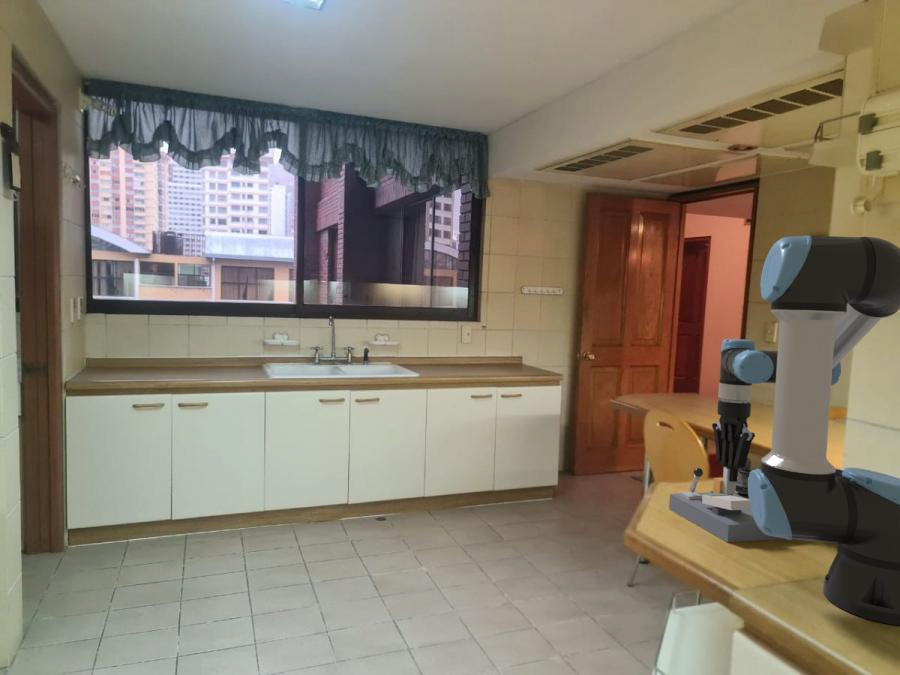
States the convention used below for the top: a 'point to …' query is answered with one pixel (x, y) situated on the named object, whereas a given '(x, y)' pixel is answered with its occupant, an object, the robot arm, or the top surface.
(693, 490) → the toggle
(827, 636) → the top surface
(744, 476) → the chess piece
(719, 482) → the slider
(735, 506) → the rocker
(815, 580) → the top surface
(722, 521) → the panel
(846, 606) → the robot arm
